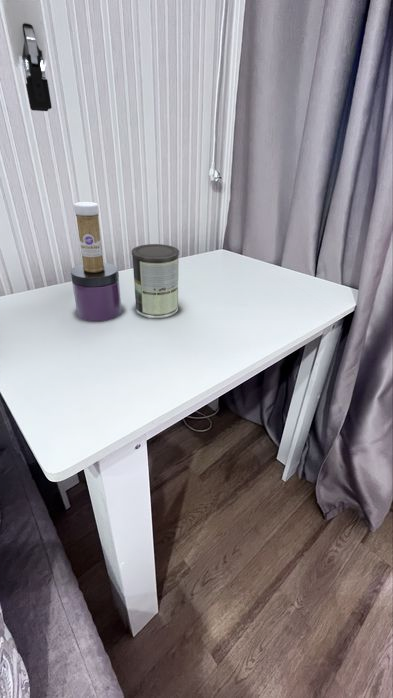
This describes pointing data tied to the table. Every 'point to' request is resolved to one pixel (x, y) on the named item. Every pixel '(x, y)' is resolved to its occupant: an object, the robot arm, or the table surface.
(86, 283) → the jar lid
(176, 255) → the coffee can
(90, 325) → the table surface
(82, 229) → the sprinkles bottle
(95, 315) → the jar
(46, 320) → the table surface
